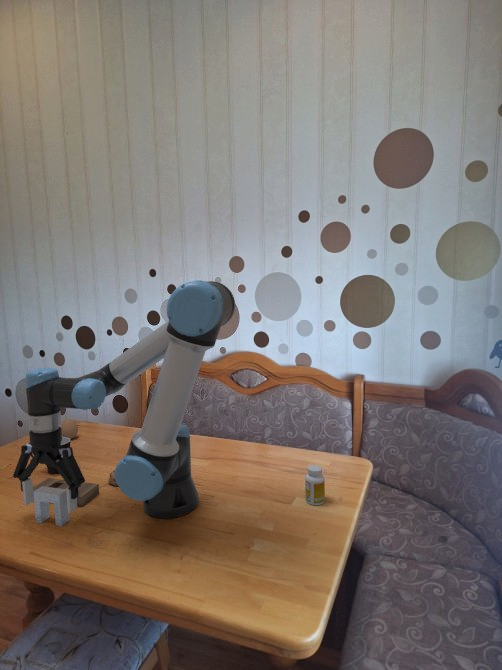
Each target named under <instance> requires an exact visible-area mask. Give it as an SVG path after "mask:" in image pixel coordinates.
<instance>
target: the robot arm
mask: <svg viewBox="0 0 502 670" xmlns="http://www.w3.org/2000/svg"><path fill="white" fill-rule="evenodd" d="M166 304H167V305H166V316H167V319H168V320H167V321H166V322H165V323H163V324H161V325H160V326H158V327H157V328H155V330H153V331H152V332H150V333H149V334H148V335H146V336H145V337H143V338H142V339H140V340H139V341H138V342H136V343H135V344H134V345H132V346H131V347H129V348H128V349H126V350H125V351H124V352H122V353H121V354H120V355H118V356H116V357H115V358H114V359H112V360H111V361H110V362H108V363H107V364H105V365H104V366H102V368H100V369H98V370H96V371H93V372H90V373H87V374H84V375H82V376H79V377H61V376H60V375H59V370H58V369H57V368H54V367H41V368H40V367H39V368H34V369H31V370H28V372H26V375H25V392H26V402H27V419H28V429H29V430H30V431H28V432H29V433H28V435H29V442H28V443H25V444H23V445H22V446H21V450H20V452H21V453H20V455H19V458H18V461H17V463H16V467H15V469H14V471H13V474H12V476H13V478H14V479H18V480H19V482H20V491H21V492H22V495H23V496H22V497H23V506H28V505H30V504H31V503H32V502H33V503H34V494H33V487H34V483H33V481H34V480H33V477H31V476H32V474H33V473H34V471H35V469H36V468H37V467H38V465H39V464H40V465H45V464H47V465H52V467H53V468H56V470H57V471H58V472H59V474H58V475H60V476H61V478H62V480H65V482H66V483H67V484H68V486H69V487H67V488H66V490H67V507H68V512H69V514H70V513H72V512H74V510H76V509H77V508H78V506H77V497H78V496H79V492H78V486H80V485H81V484H82V483H84V482H86V479H85V477H84V475H83V473H82V470H81V468H80V466H79V464H78V462H77V460H76V458H75V456H74V451H73V448H72V447H71V446H70V447H69V448H67V449H62V447H61V441H62V437H63V436H62V428H61V427H62V413H61V408H63V409H64V408H65V409H74V410H75V409H77V410H84V411H85V410H86V411H87V410H96V409H99V408H100V407H101V406H102V404H103V403H104V402H105V399H106V397H108V396H110V395H114V394H116V393H118V392H119V391H120V390H122V389H123V388H124V386H126V385H127V384H128V383H130V382H132V381H133V380H134V379H135V378H137V377H138V376H140V375H141V374H143V373H144V372H145V371H147V370H149V369H151V367H153V366H154V365H156V364H158V363H159V362H160V361H162V364H161V367H160V371H159V372H158V373H159V374H158V376H157V379H156V382H155V386H154V388H153V391H152V394H151V395H152V396H151V399H150V401H149V405H148V408H147V410H146V413H145V417H144V420H143V424H142V426H141V429H140V430H138V431H136V432H134V433H133V434H132V436H131V440H130V443H129V446H128V449H127V452H126V454H125V456H123V457H122V458H121V459H120V460H119V462H118V463H117V464H116V467H115V469H114V470H115V480H116V483H117V485H118V486H119V490H120V491H121V492H122V493H123V495H125V496H126V497H128V498H129V499H132V500H134V501H139V502H143V511H144V513H146V515H149V516H150V517H153V518H158V519H174V518H179V517H182V516H185V515H187V514H190V513H191V512H193V511H195V509H197V506H199V493H198V490H197V487H196V484H195V482H194V480H193V477H192V465H191V464H192V461H191V435H190V428H189V426H188V425H186V424H184V423H182V422H183V418H184V417H185V414H186V411H187V408H188V404H189V402H190V399H191V395H192V392H193V390H194V386H195V384H196V380H197V378H198V374H199V373H200V368H201V365H202V364H203V360H204V357H205V353H206V352H207V351H208V350H210V349H212V348H214V347H215V345H216V342H217V338H218V336H219V333H220V332H221V331H220V330H221V328H222V327H223V326H225V325H226V324H227V323H228V322H230V321H231V320H232V318H233V316H234V313H235V309H236V300H235V296H234V295H233V292H232V290H230V288H229V287H227V286H226V285H225V284H223V283H221V282H219V281H211V280H209V281H208V280H206V281H205V280H201V279H200V280H198V279H197V280H191V281H188V282H185V283H182V284H180V285H179V286H178V287H176V288H175V289H174V290H173V292H172V293H171V294H170V296H169V297H168V300H167V303H166ZM31 453H32V455H33V456H34V457H33V458H32V457H31ZM61 454H62V455H61ZM30 458H31V460H30ZM29 460H30V461H29ZM57 460H59V461H58V462H56V461H57ZM72 481H73V482H72ZM118 486H117V487H118Z"/></svg>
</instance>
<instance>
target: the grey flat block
mask: <svg viewBox="0 0 502 670" xmlns="http://www.w3.org/2000/svg"><path fill="white" fill-rule="evenodd" d="M72 482H73V481H72ZM99 485H100V484H99V483H94V482H86V481H85V482H84V483H82V484H81V485H80V486H78V492H79V496H78V497H77V508H79V507H80V508H83V507H84V506H85V505H87V504H88V503H89V502H90V501H92V500H93V499H95V498H96V497H97V496H98V495H100V487H99ZM41 486H44V487H52V488H60V489H66V488H67V487H69V486H68V484H67V483H66V482H65V480H64V479H59V478H50V477H47V478H46V479H44V480H42V481H40V482H39V483H38V484H35V485H33V491H35V490H37V489H38V488H40V487H41ZM33 494H34V493H33Z"/></svg>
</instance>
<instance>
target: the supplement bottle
mask: <svg viewBox="0 0 502 670" xmlns="http://www.w3.org/2000/svg"><path fill="white" fill-rule="evenodd" d="M304 479H305V480H304V481H305V482H304V485H305V487H304V490H305V491H304V493H305V502H306V503H308V504H309V505H313V506H319V505H320V506H321V505H323V504H324V503H325V498H326V497H325V494H326V493H325V491H326V490H325V487H326V486H325V485H326V483H325V481H326V480H325V476H324V475H323V467H322V466H320V465H316V464H314V465H313V464H311V465H308V467H307V474H306V475H305V478H304Z"/></svg>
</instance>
